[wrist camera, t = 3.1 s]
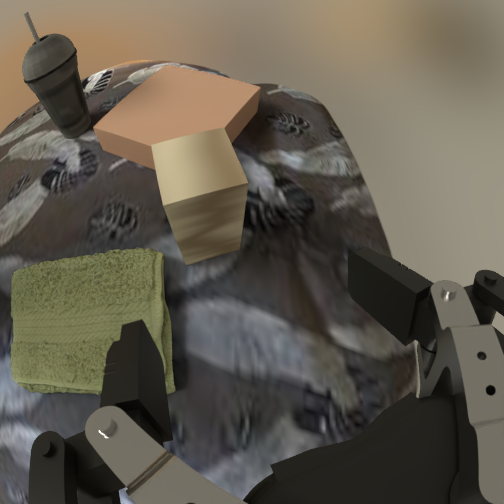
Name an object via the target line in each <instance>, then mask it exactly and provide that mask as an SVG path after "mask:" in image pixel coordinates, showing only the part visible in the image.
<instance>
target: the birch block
mask: <svg viewBox="0 0 504 504" xmlns="http://www.w3.org/2000/svg"><path fill="white" fill-rule="evenodd" d="M151 147H152V153H153V158H154V164H155V169H156V174H157V179H158V184H159V188H160V193H161V198H162V202H163V206H164V209H165V212H166V215H167V217H168V220H169V223H170V225H171V228H172V231H173V233H174V236H175V239H176V241H177V244H178V246H179V249H180V251H181V254H182V256H183V259H184V261H185V264H186V265H189V264H192V263H196V262H199V261H202V260H206V259H209V258H212V257H216V256H219V255H222V254H226V253H229V252H232V251H236V250H239V249H240V245H241V237H242V229H243V221H244V213H245V205H246V197H247V190H248V181H247V178H246V176H245V174H244V171H243V169H242V167H241V165H240V162H239V160H238V158H237V156H236V153H235V151H234V149H233V147H232V144H231V142H230V140H229V138H228V135H227V133H226V131H225V129H224V127H223V128H218V129H213V130H208V131H204V132H199V133H195V134H191V135H187V136H183V137H179V138H175V139H171V140H167V141H164V142H160V143H157V144H153V145H151Z"/></svg>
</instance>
